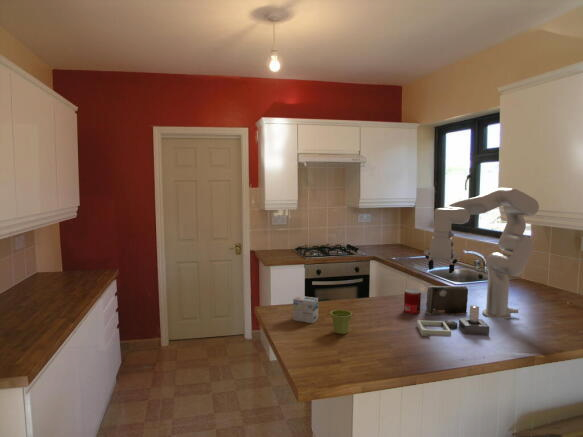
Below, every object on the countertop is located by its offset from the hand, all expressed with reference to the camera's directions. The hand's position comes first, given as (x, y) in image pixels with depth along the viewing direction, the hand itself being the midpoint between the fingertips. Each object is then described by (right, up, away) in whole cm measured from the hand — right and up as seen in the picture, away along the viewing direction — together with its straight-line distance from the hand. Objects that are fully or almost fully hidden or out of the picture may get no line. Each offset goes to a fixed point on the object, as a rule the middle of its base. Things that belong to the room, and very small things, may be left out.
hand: (440, 271), depth 187 cm
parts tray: (-7, -26, -8) cm, 28 cm away
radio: (+9, -24, +16) cm, 30 cm away
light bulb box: (-63, -25, +6) cm, 68 cm away
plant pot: (-48, -26, -9) cm, 55 cm away
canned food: (-8, -24, +18) cm, 31 cm away
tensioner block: (+10, -26, -11) cm, 30 cm away
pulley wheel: (+2, -26, -5) cm, 26 cm away
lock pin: (+10, -25, -11) cm, 29 cm away
